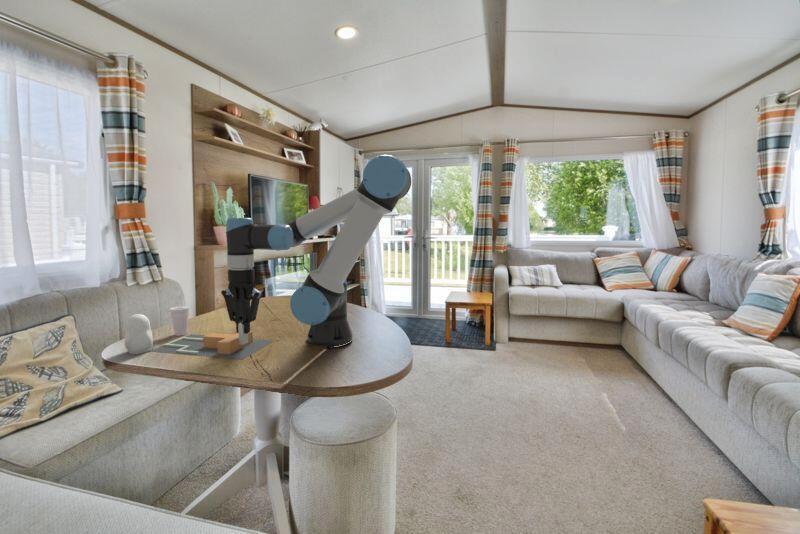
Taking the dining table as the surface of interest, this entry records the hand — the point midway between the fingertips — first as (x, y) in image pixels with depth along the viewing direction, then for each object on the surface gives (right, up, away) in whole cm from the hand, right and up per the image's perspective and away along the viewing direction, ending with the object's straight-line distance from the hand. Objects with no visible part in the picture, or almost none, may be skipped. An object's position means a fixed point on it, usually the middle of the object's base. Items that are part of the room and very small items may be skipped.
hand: (243, 343), depth 119 cm
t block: (-7, -1, +2) cm, 7 cm away
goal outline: (-17, -1, +4) cm, 18 cm away
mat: (-10, -2, +2) cm, 11 cm away
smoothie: (-30, -1, +17) cm, 34 cm away
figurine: (-32, -3, 0) cm, 32 cm away
